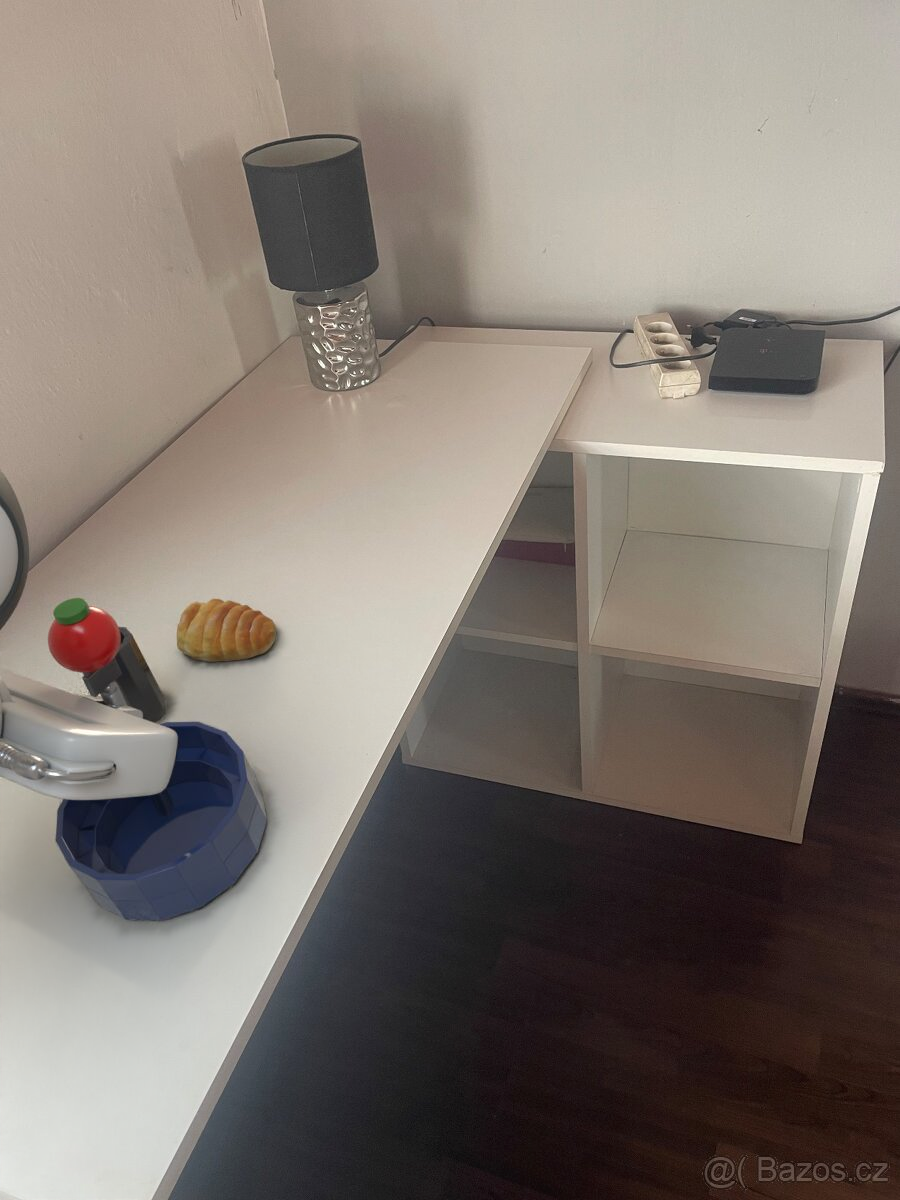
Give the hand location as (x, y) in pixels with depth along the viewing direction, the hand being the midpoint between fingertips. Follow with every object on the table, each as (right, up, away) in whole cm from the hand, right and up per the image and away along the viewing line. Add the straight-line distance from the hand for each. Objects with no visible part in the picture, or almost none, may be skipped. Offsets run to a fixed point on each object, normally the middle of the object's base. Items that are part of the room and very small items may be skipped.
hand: (119, 715), depth 58 cm
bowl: (+1, -11, +10) cm, 15 cm away
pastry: (0, +4, +27) cm, 27 cm away
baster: (+1, -8, +6) cm, 10 cm away
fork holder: (-5, -3, +21) cm, 22 cm away
